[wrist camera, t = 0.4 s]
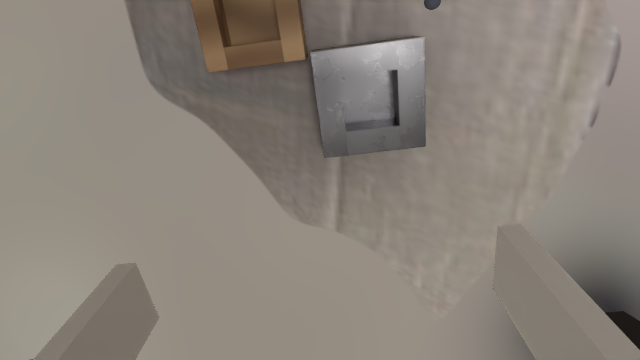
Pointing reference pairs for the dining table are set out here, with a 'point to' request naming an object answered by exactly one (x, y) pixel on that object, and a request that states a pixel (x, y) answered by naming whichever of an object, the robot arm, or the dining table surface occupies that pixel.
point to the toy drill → (432, 4)
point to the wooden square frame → (249, 32)
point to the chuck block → (371, 96)
